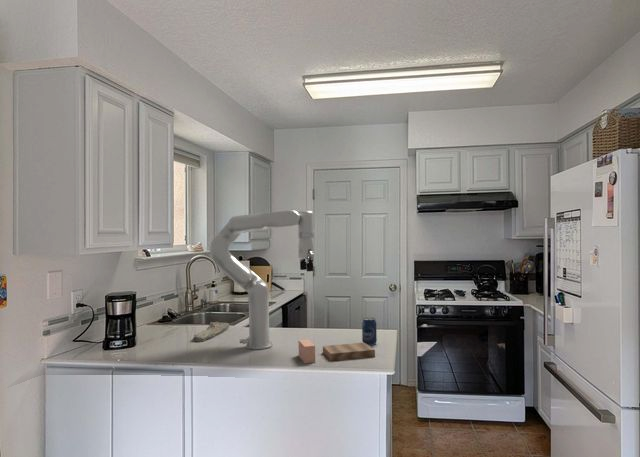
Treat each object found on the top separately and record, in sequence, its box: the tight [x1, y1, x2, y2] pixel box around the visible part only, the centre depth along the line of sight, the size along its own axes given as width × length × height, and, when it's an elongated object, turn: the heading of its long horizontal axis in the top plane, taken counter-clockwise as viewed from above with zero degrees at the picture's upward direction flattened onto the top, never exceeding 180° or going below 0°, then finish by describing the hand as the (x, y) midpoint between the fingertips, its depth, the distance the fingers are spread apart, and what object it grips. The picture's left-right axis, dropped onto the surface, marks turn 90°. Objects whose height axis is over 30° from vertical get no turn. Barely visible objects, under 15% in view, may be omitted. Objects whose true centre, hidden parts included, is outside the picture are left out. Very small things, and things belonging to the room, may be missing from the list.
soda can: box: [361, 317, 378, 346], centre depth 211 cm, size 7×7×12 cm
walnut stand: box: [322, 342, 376, 362], centre depth 193 cm, size 20×13×3 cm, turn 105°
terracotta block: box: [298, 338, 316, 364], centre depth 188 cm, size 4×12×7 cm, turn 15°
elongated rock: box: [192, 321, 230, 343], centre depth 237 cm, size 35×5×10 cm
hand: (306, 270), depth 214 cm, fingers open, 9 cm apart
